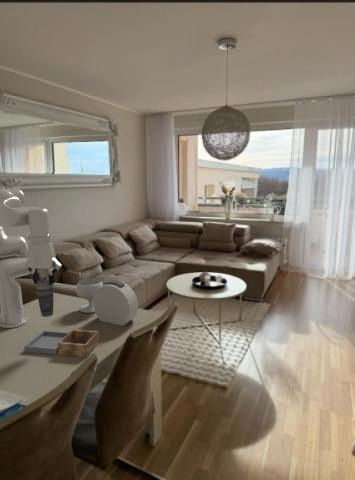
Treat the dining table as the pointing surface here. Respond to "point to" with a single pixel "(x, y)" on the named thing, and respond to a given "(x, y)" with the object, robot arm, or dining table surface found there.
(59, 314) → the dining table surface
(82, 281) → the chalice
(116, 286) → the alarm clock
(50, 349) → the tray
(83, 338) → the holder
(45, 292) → the beverage cup
